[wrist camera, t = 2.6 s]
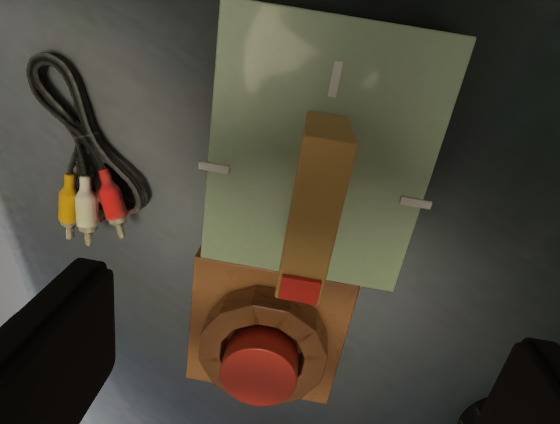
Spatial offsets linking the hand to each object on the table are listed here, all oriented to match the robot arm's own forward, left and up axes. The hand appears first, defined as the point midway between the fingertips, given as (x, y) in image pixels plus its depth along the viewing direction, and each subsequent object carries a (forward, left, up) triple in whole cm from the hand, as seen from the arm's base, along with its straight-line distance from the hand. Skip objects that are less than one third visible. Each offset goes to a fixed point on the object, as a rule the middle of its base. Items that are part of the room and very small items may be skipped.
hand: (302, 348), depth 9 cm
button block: (+10, -1, -13) cm, 16 cm away
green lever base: (-1, 0, -13) cm, 13 cm away
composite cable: (+1, -12, -13) cm, 18 cm away
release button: (+10, -1, -9) cm, 13 cm away
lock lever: (0, 0, -10) cm, 10 cm away
